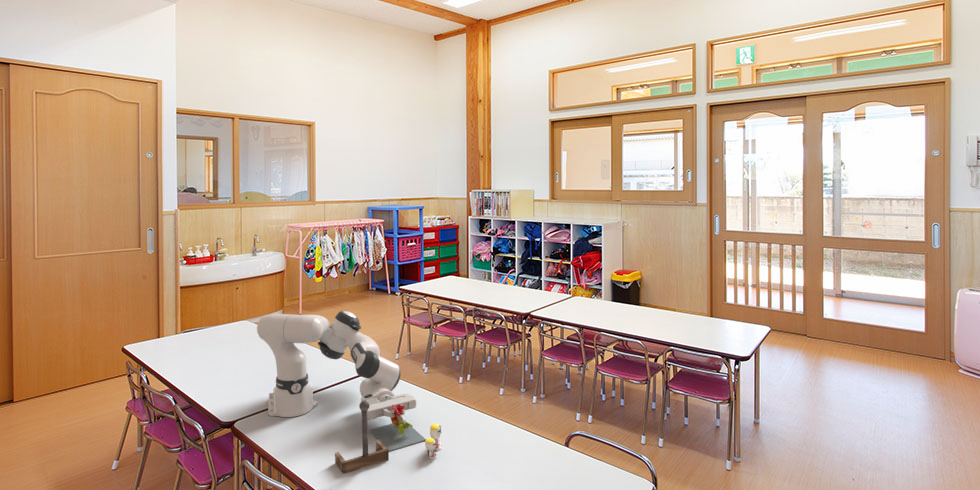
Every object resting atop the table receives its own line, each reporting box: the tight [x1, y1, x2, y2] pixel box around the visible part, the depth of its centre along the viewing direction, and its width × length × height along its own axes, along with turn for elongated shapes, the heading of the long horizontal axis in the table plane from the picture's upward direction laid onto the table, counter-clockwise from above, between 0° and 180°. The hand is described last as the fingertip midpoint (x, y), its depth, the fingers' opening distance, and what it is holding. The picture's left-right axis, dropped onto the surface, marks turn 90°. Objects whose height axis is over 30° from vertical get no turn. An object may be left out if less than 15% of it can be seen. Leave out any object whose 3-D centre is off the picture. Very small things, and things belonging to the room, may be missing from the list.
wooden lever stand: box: [334, 401, 389, 475], centre depth 174 cm, size 9×15×22 cm, turn 124°
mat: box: [369, 419, 427, 453], centre depth 193 cm, size 18×14×1 cm
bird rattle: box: [390, 404, 414, 435], centre depth 193 cm, size 6×11×9 cm
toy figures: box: [424, 423, 442, 460], centre depth 183 cm, size 12×4×8 cm, turn 172°
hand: (397, 414), depth 192 cm, fingers closed on bird rattle, 2 cm apart
